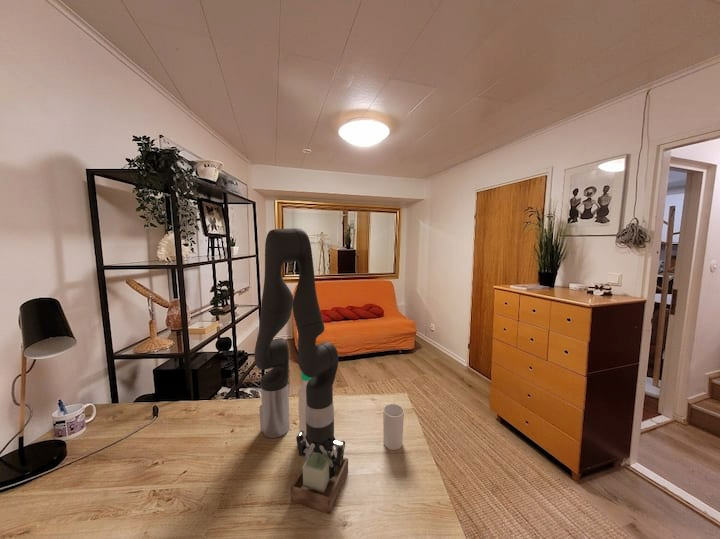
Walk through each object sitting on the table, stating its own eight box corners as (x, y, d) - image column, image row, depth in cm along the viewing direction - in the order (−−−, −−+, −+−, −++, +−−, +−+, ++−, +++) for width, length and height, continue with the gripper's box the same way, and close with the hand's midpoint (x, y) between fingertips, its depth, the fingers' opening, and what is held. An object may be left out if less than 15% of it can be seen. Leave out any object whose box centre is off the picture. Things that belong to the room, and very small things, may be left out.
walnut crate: (290, 501, 71) (290, 487, 70) (314, 461, 83) (313, 449, 83) (330, 514, 67) (329, 500, 67) (348, 470, 80) (348, 458, 79)
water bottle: (324, 436, 94) (323, 368, 90) (312, 450, 87) (311, 378, 84) (307, 430, 96) (306, 364, 93) (295, 443, 90) (292, 373, 87)
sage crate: (303, 486, 71) (302, 466, 71) (318, 459, 80) (318, 441, 79) (323, 492, 70) (323, 472, 69) (337, 464, 78) (336, 446, 77)
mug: (402, 452, 87) (403, 417, 85) (382, 449, 88) (382, 415, 86) (403, 430, 97) (403, 399, 95) (384, 427, 98) (384, 397, 96)
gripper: (289, 420, 71) (291, 476, 73) (339, 432, 67) (340, 492, 69) (303, 403, 78) (304, 455, 80) (349, 413, 74) (349, 468, 76)
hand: (321, 472), depth 75 cm, fingers closed on sage crate, 6 cm apart
